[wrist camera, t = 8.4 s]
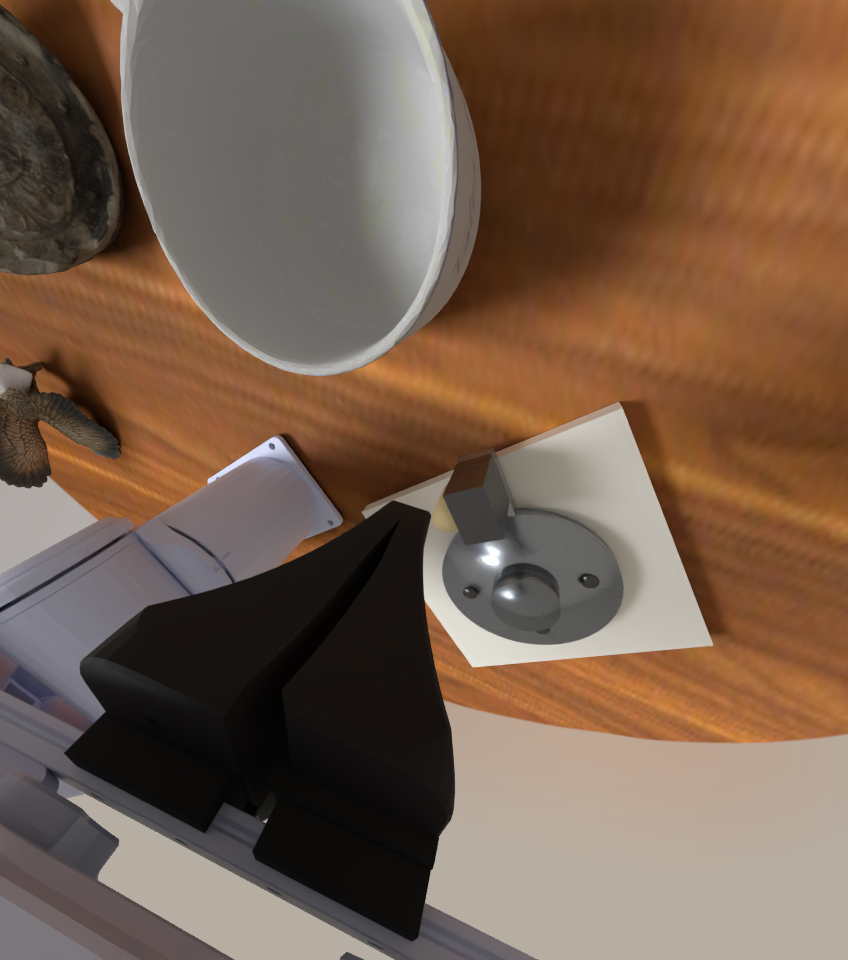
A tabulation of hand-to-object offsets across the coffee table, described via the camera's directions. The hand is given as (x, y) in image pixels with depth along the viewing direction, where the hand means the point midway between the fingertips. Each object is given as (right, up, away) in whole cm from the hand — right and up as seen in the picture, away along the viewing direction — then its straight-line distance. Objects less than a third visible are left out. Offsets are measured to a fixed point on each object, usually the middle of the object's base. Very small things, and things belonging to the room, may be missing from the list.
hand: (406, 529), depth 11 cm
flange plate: (+6, -3, +11) cm, 13 cm away
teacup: (-2, +15, +5) cm, 16 cm away
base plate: (+8, -4, +12) cm, 15 cm away
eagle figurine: (-29, +8, +18) cm, 35 cm away
